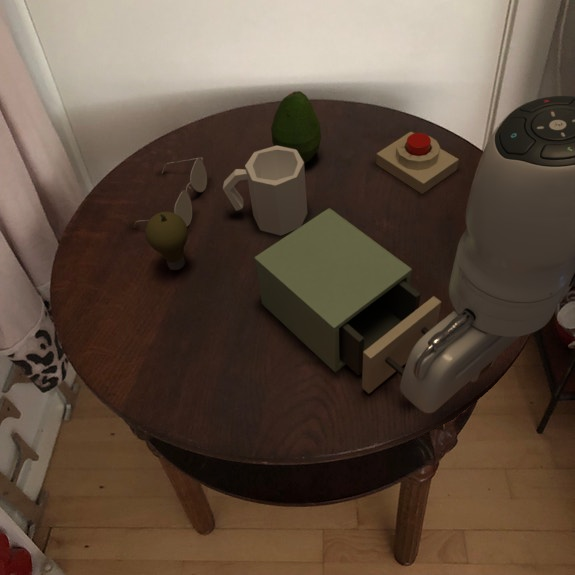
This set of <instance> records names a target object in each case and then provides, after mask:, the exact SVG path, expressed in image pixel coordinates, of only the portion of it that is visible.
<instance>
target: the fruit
mask: <svg viewBox="0 0 575 575" xmlns="http://www.w3.org/2000/svg"><path fill="white" fill-rule="evenodd" d="M270 132H271V142H272V144H273V146H276V145H277V146H282V147H286V148H291V149H295V150H297V151H298V153H299V155H300V157H301V158H302V160H303V162H304V164H306V163H308V162H309V161H310V160H312V159H313V157H314V156H315V155H316V153H317V152H318V151H319V147H320V144H321V141H322V132H321V123H320V121H319V118H318V116H317V114H316V112H315V109H314V107H313V106H312V103H311V101H310V99H309V98H308V96H307V95H306V94H305V93H303V92H302V91H298V90H297V91H293V92H290V93H289V94H288V95H286V96H285V97H283V98H282V100H281V101H280V102H279V105H278V107H277V109H276V111H275V114H274V116H273V121H272V124H271V127H270Z"/></svg>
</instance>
